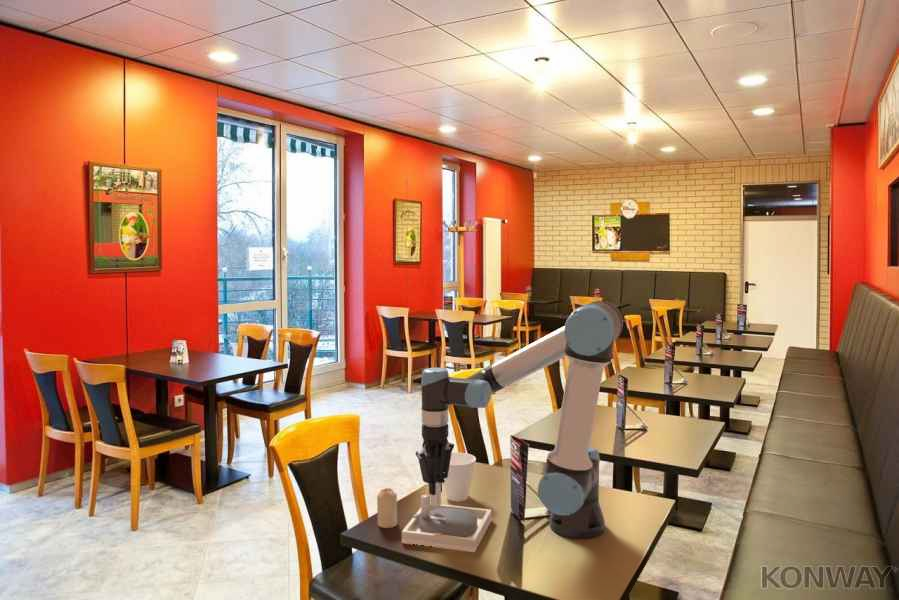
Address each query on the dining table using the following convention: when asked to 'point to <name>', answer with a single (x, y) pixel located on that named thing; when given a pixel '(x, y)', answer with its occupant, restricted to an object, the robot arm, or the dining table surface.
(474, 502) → the dining table surface
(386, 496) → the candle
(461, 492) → the cup
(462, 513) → the dial
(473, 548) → the dial plate
